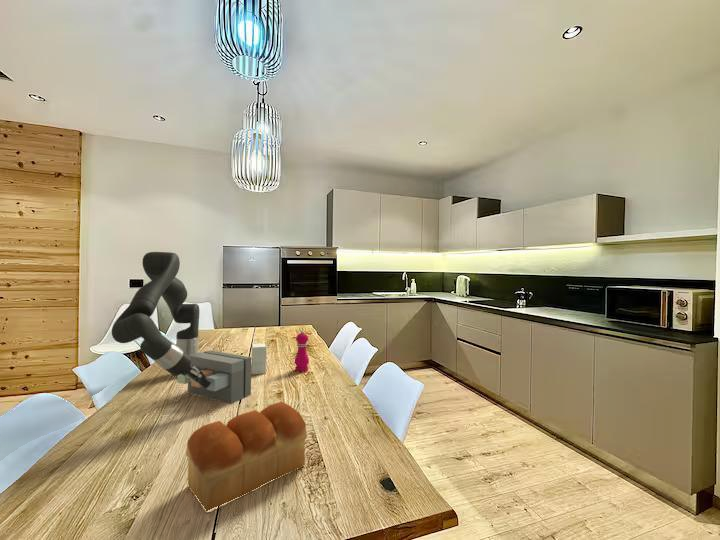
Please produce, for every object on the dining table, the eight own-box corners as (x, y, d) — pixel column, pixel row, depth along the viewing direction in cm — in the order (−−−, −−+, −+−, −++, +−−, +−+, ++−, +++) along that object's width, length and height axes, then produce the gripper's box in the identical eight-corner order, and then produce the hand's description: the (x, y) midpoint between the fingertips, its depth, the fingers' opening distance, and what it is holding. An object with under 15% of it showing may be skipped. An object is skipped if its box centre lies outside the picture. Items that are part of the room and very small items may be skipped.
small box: (266, 373, 157) (266, 346, 157) (252, 374, 155) (252, 347, 155) (264, 368, 165) (265, 343, 165) (251, 370, 163) (252, 343, 163)
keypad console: (187, 392, 132) (188, 355, 132) (208, 384, 141) (209, 350, 141) (231, 403, 122) (231, 363, 122) (250, 394, 131) (251, 357, 131)
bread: (205, 516, 66) (206, 444, 66) (185, 487, 75) (186, 423, 75) (306, 466, 84) (307, 408, 84) (280, 447, 93) (281, 395, 93)
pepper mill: (310, 368, 167) (311, 329, 167) (306, 372, 160) (307, 331, 160) (296, 367, 167) (297, 328, 167) (292, 372, 160) (293, 331, 160)
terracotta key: (191, 385, 122) (191, 373, 122) (209, 379, 129) (209, 368, 129) (199, 387, 120) (199, 375, 120) (217, 381, 128) (217, 369, 128)
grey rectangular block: (206, 389, 119) (206, 377, 119) (223, 382, 126) (223, 371, 126) (214, 391, 117) (214, 379, 117) (232, 384, 124) (232, 372, 124)
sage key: (177, 382, 126) (177, 370, 126) (195, 376, 133) (195, 365, 133) (184, 384, 124) (184, 372, 124) (202, 377, 131) (203, 367, 131)
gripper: (191, 352, 105) (225, 379, 115) (171, 346, 113) (205, 372, 123) (173, 372, 101) (210, 399, 111) (154, 364, 109) (190, 390, 119)
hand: (207, 385), depth 117 cm, fingers closed
